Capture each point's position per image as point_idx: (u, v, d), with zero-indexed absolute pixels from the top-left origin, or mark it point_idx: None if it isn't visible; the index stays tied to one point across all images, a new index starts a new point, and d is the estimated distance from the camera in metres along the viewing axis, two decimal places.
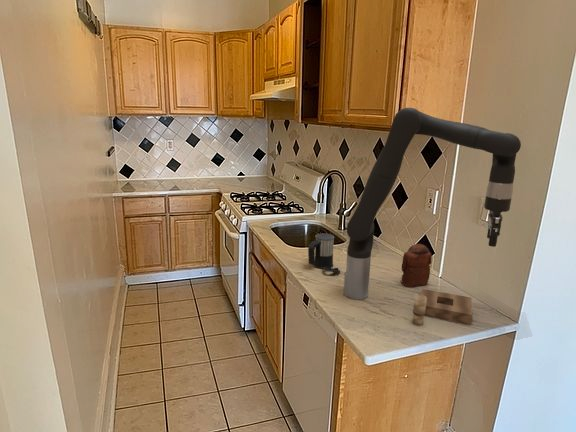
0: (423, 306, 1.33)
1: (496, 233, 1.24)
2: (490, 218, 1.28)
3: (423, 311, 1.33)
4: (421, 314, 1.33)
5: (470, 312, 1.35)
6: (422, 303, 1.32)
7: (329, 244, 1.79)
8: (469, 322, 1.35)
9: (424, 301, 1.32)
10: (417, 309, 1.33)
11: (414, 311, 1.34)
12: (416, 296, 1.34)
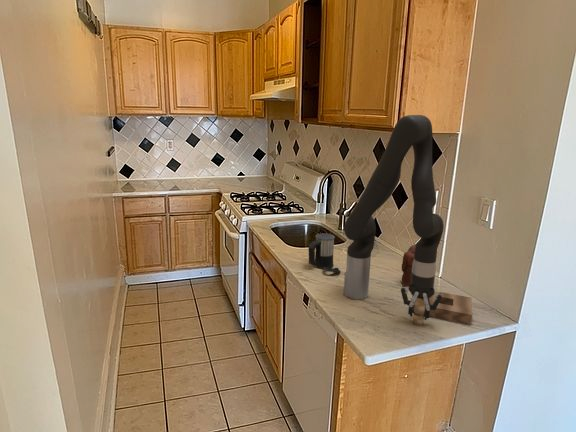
0: (423, 306, 1.33)
1: None
2: (427, 295, 1.31)
3: (423, 311, 1.33)
4: (421, 314, 1.33)
5: (470, 312, 1.35)
6: (422, 303, 1.32)
7: (330, 244, 1.79)
8: (469, 322, 1.35)
9: None
10: (417, 309, 1.33)
11: (414, 311, 1.34)
12: None
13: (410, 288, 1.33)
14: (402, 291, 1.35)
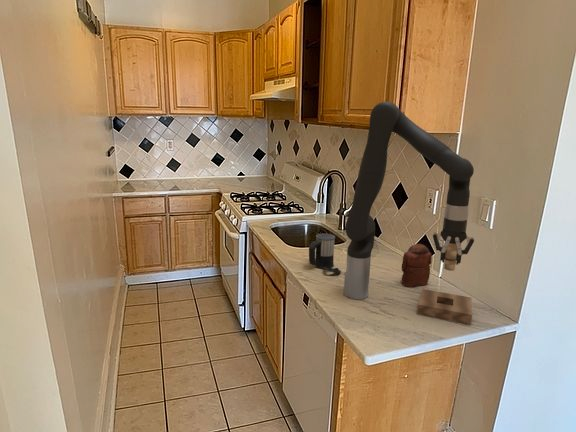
0: (455, 251, 1.36)
1: None
2: (459, 240, 1.34)
3: (455, 256, 1.36)
4: (453, 259, 1.36)
5: (470, 312, 1.35)
6: (454, 247, 1.35)
7: (330, 244, 1.78)
8: (469, 322, 1.35)
9: (456, 246, 1.35)
10: (449, 254, 1.36)
11: (446, 256, 1.38)
12: None
13: (442, 233, 1.37)
14: (434, 237, 1.38)
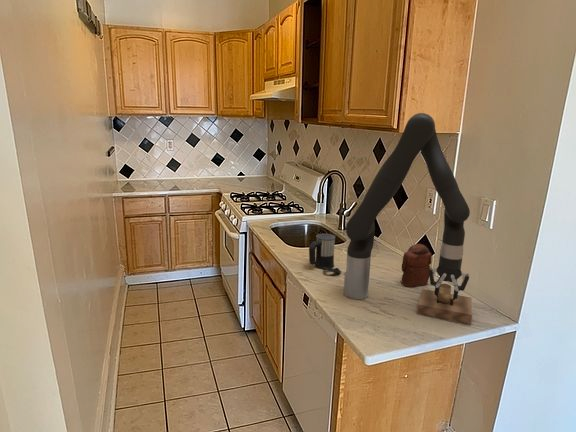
0: (448, 294, 1.41)
1: None
2: (454, 277, 1.39)
3: (449, 299, 1.42)
4: (446, 302, 1.42)
5: (470, 312, 1.35)
6: (447, 291, 1.41)
7: (330, 244, 1.78)
8: (469, 322, 1.35)
9: (449, 289, 1.41)
10: (442, 297, 1.42)
11: (440, 299, 1.43)
12: (441, 285, 1.43)
13: (438, 270, 1.41)
14: (430, 272, 1.42)
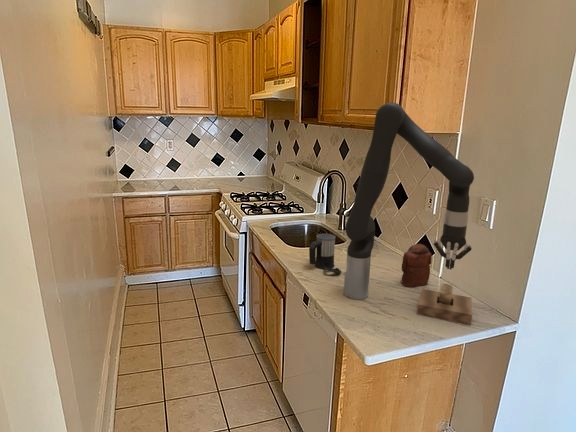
0: (449, 295, 1.41)
1: None
2: (458, 246, 1.36)
3: (450, 299, 1.42)
4: (447, 302, 1.42)
5: (470, 312, 1.35)
6: (449, 292, 1.40)
7: (331, 244, 1.78)
8: (469, 322, 1.35)
9: (450, 290, 1.40)
10: (443, 297, 1.42)
11: (440, 299, 1.43)
12: (443, 285, 1.42)
13: (442, 239, 1.38)
14: (435, 245, 1.39)
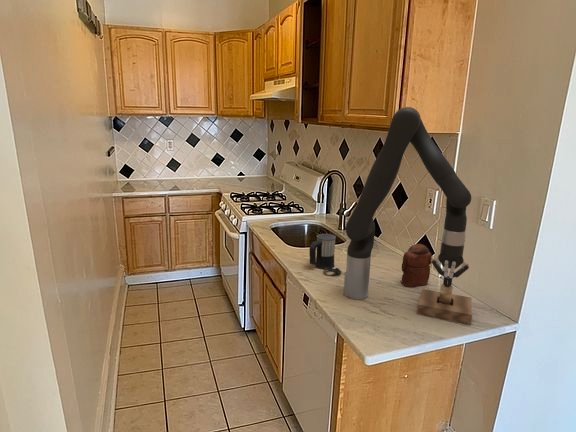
0: (449, 295, 1.41)
1: None
2: (455, 264, 1.37)
3: (450, 299, 1.42)
4: (447, 302, 1.42)
5: (470, 312, 1.35)
6: (448, 292, 1.40)
7: (331, 245, 1.78)
8: (469, 322, 1.35)
9: (450, 290, 1.40)
10: (443, 297, 1.42)
11: (440, 299, 1.43)
12: (442, 285, 1.42)
13: (439, 258, 1.40)
14: (433, 263, 1.41)
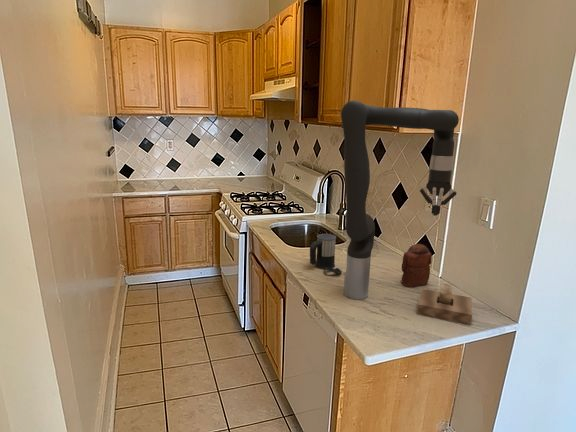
0: (449, 295, 1.41)
1: None
2: (443, 191, 1.38)
3: (450, 299, 1.42)
4: (447, 302, 1.42)
5: (470, 312, 1.35)
6: (448, 292, 1.40)
7: (331, 245, 1.78)
8: (469, 322, 1.35)
9: (450, 290, 1.40)
10: (443, 297, 1.42)
11: (440, 299, 1.43)
12: (442, 285, 1.42)
13: (427, 185, 1.40)
14: (422, 191, 1.41)
